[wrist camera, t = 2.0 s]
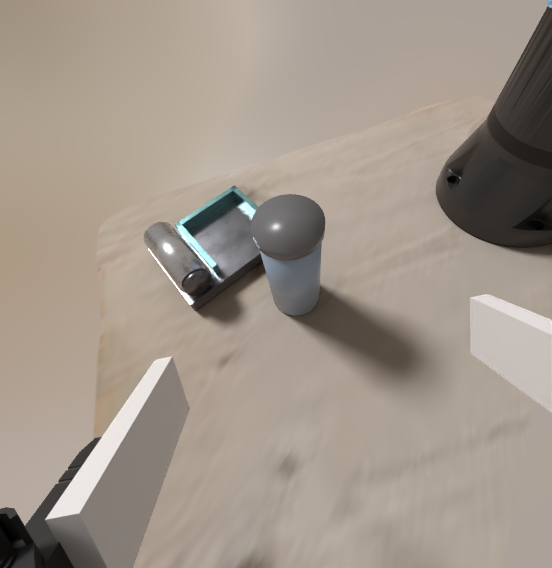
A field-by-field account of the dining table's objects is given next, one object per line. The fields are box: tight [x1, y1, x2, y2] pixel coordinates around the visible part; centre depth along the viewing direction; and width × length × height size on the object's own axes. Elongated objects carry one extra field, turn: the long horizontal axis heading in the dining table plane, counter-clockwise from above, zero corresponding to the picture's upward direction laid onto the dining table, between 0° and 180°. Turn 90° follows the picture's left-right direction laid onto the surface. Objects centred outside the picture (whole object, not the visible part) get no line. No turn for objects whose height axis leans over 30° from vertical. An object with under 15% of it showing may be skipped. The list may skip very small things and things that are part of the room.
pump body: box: [251, 194, 325, 316], centre depth 26 cm, size 5×5×12 cm
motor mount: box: [144, 186, 262, 311], centre depth 33 cm, size 13×10×5 cm
